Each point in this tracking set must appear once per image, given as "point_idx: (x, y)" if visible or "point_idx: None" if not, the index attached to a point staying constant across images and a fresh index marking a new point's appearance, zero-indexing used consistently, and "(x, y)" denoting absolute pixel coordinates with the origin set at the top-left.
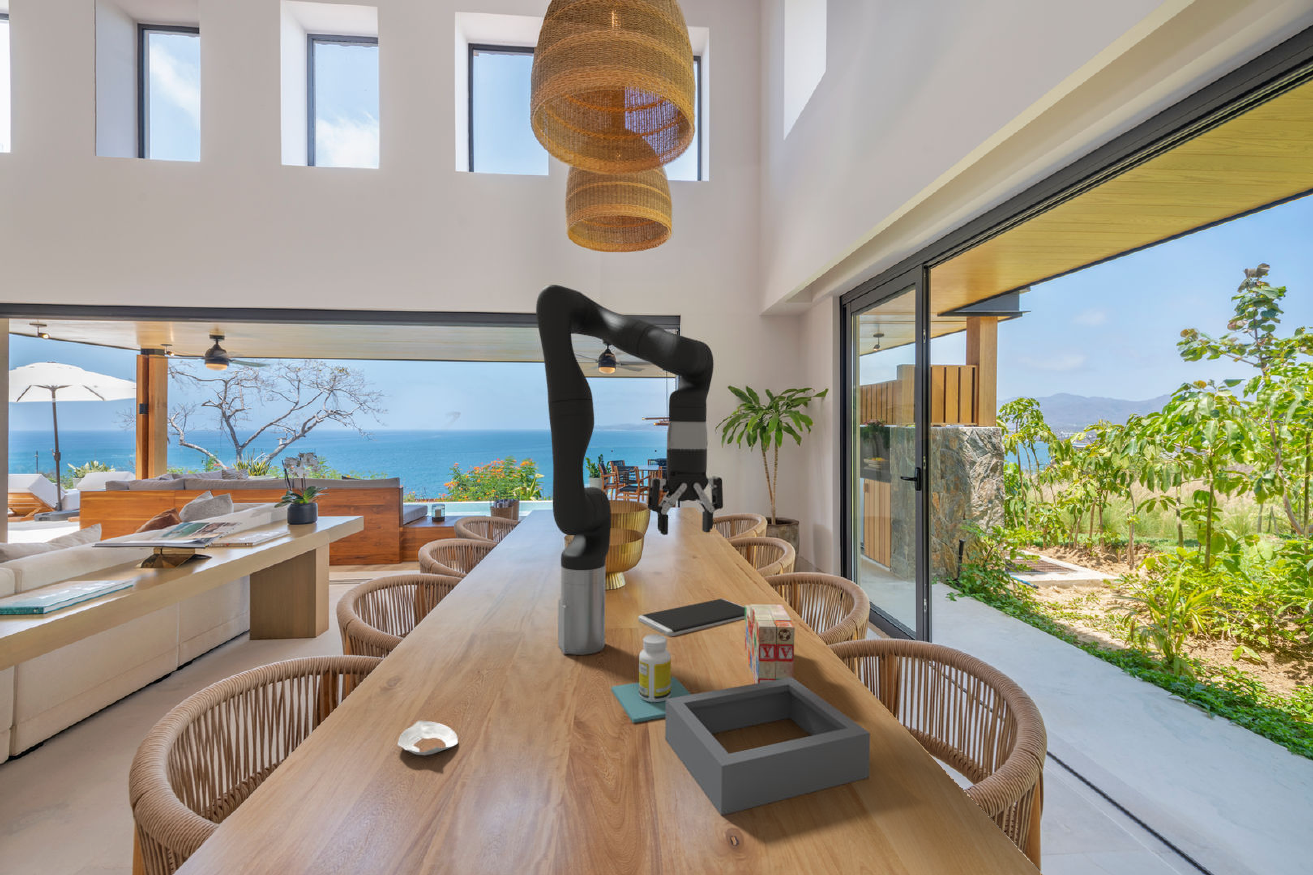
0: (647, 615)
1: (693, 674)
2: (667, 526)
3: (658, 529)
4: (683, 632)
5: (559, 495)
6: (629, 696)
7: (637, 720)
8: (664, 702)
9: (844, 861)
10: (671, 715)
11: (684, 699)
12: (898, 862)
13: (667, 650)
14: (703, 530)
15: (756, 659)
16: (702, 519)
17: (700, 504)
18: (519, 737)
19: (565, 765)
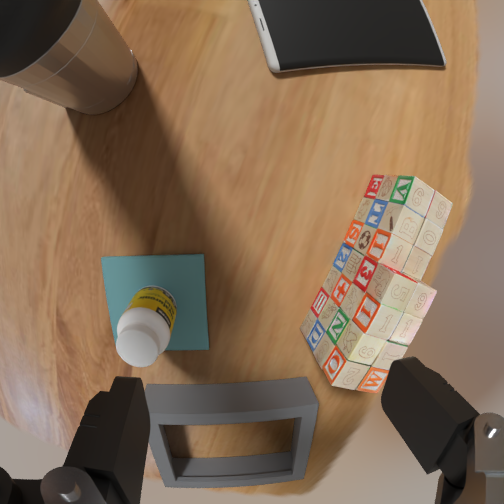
0: None
1: (242, 243)
2: (142, 457)
3: (97, 400)
4: (302, 69)
5: None
6: (120, 295)
7: None
8: None
9: (224, 490)
10: None
11: (161, 419)
12: (251, 493)
13: (163, 340)
14: (391, 371)
15: (322, 328)
16: (428, 392)
17: (471, 467)
18: (13, 327)
19: (56, 383)
